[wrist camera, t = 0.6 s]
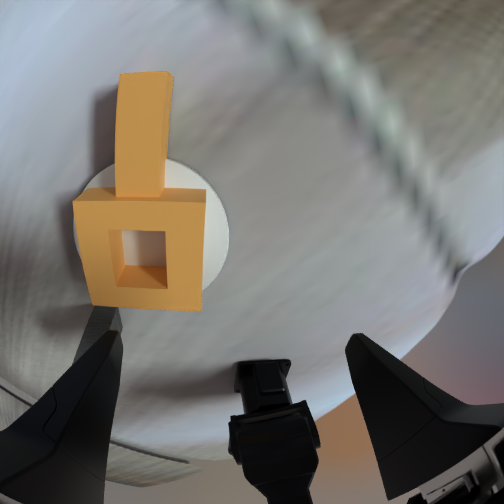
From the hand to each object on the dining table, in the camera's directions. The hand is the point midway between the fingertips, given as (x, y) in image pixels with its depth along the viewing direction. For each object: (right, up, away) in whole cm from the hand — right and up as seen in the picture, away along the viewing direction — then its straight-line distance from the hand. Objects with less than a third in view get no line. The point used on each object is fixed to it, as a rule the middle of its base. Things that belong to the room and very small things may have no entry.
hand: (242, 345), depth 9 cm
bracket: (-8, +7, +10) cm, 14 cm away
